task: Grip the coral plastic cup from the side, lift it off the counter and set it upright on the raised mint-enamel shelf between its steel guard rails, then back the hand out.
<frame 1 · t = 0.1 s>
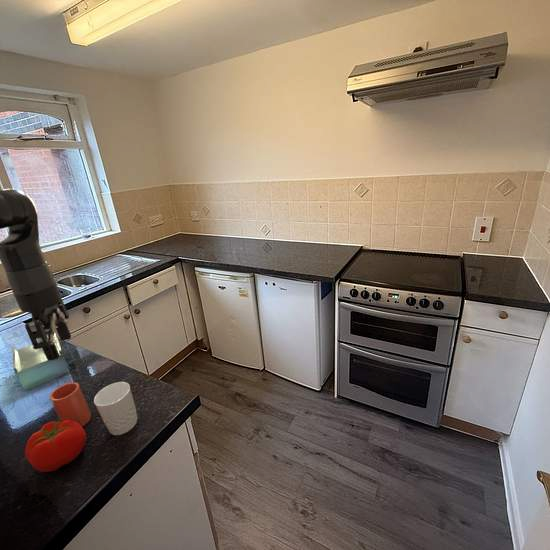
hand: (60, 348, 70), 22 cm above the countertop, tool pointing down, fingers open, 8 cm apart
white cup: (124, 424, 75), on the countertop
cup: (77, 421, 78), on the countertop
tomato: (64, 458, 68), on the countertop
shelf: (45, 369, 100), on the countertop
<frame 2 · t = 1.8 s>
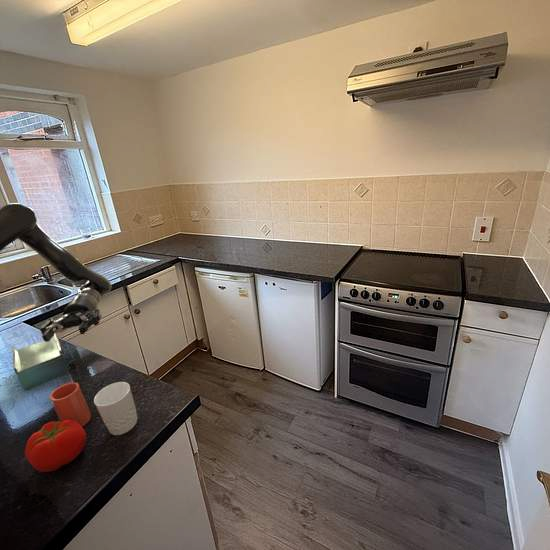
hand: (63, 335, 80), 20 cm above the countertop, tool horizontal, fingers open, 8 cm apart
nothing on the countertop moved.
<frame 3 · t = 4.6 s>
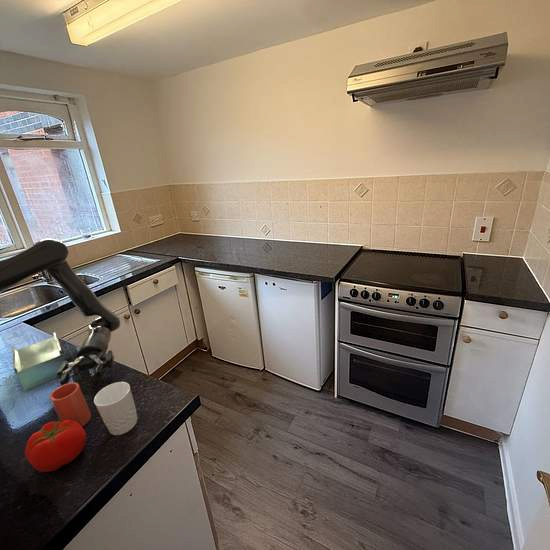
hand: (80, 380, 84), 6 cm above the countertop, tool horizontal, fingers open, 8 cm apart
nothing on the countertop moved.
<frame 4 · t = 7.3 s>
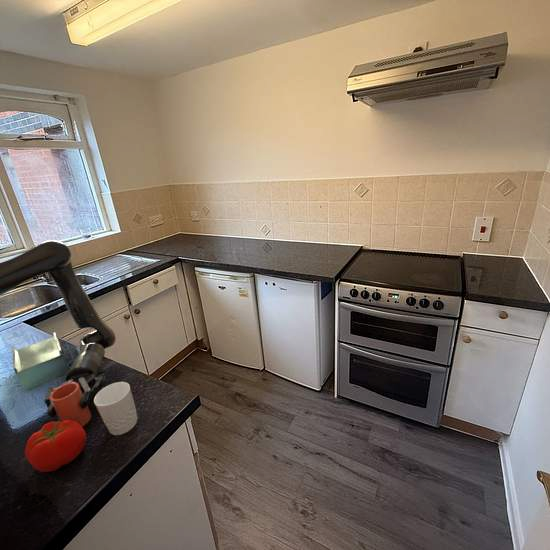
hand: (67, 410, 73), 6 cm above the countertop, tool horizontal, fingers closed on cup, 6 cm apart
cup: (77, 421, 78), on the countertop, touching gripper
everything else where it was.
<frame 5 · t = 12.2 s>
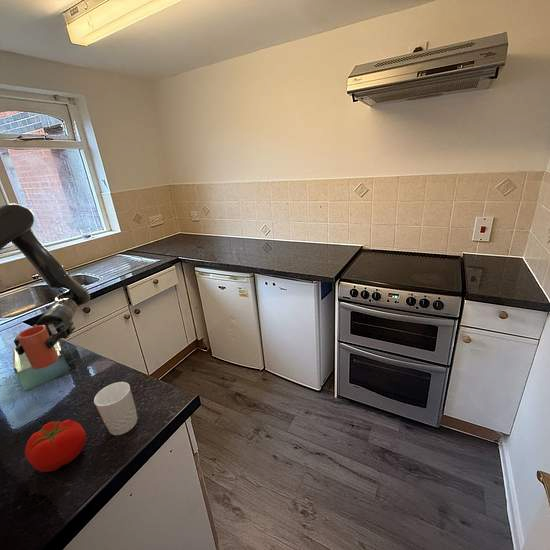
hand: (33, 348, 79), 18 cm above the countertop, tool horizontal, fingers closed on cup, 6 cm apart
cup: (45, 361, 84), point 12 cm above the countertop, touching gripper
everything else where it was.
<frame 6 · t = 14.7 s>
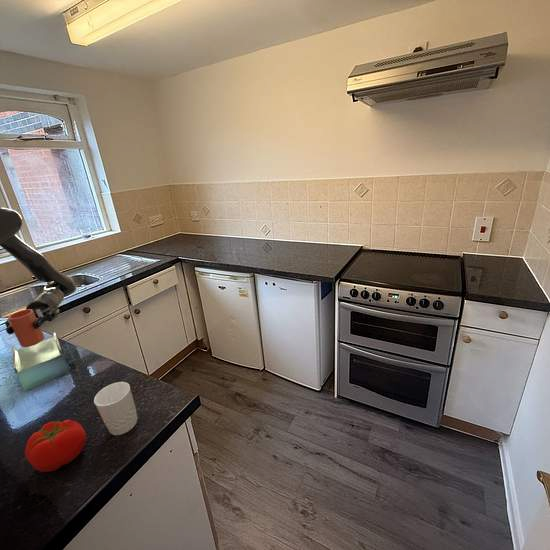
hand: (22, 328, 91), 18 cm above the countertop, tool horizontal, fingers closed on cup, 6 cm apart
cup: (33, 341, 95), point 12 cm above the countertop, touching gripper
everything else where it was.
when the fingers open (13 cm above the countertop, at t = 16.9 s): cup stays where it is, resting on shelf.
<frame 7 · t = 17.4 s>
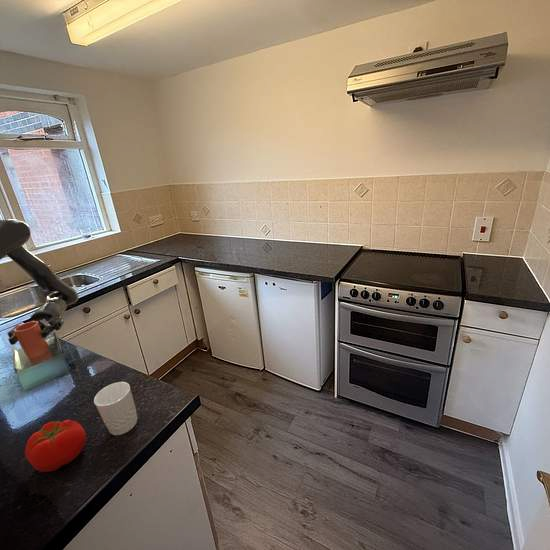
hand: (27, 338, 94), 13 cm above the countertop, tool horizontal, fingers open, 8 cm apart
cup: (38, 352, 98), point 7 cm above the countertop, touching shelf
everything else where it was.
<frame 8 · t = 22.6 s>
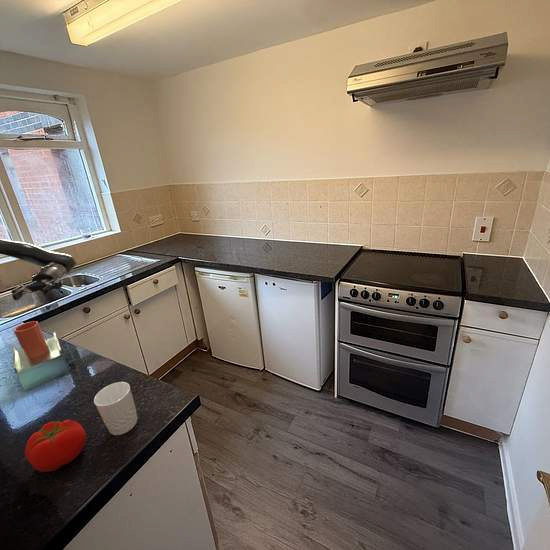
hand: (29, 295, 100), 24 cm above the countertop, tool horizontal, fingers open, 8 cm apart
nothing on the countertop moved.
at the end: cup inside the target area on the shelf (0.1 cm from its centre), point 7.0 cm above the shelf's base; cup tilted 0°; the gripper is holding nothing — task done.
